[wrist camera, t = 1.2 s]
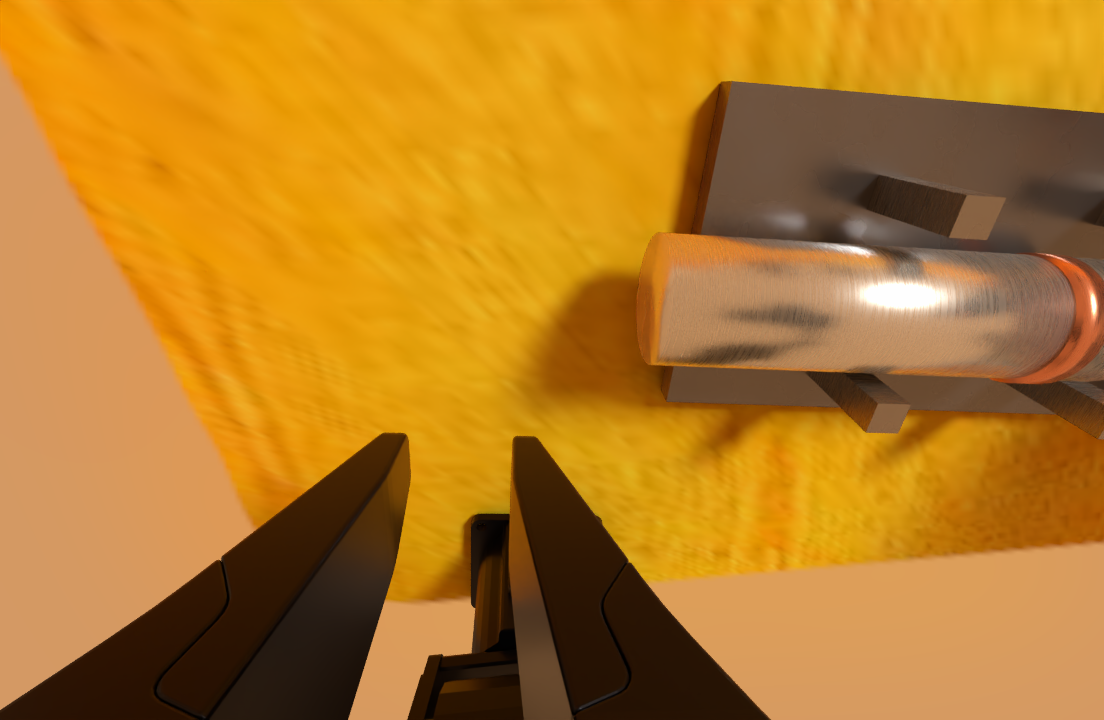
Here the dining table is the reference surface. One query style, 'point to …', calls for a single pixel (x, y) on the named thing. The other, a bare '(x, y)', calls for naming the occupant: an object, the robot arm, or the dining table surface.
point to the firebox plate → (899, 221)
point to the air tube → (870, 309)
